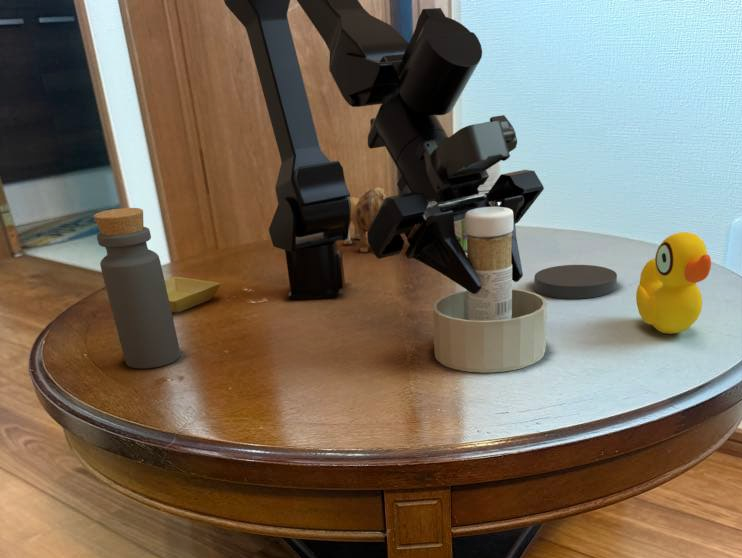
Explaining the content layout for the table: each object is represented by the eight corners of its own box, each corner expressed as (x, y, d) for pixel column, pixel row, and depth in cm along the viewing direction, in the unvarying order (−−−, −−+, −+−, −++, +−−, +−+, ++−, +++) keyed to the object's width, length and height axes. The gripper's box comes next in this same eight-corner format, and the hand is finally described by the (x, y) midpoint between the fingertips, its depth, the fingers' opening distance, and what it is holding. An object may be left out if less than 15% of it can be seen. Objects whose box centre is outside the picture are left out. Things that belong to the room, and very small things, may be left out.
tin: (435, 375, 78) (433, 324, 75) (434, 337, 87) (432, 291, 84) (551, 369, 77) (553, 318, 74) (538, 332, 86) (539, 285, 84)
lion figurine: (403, 250, 122) (399, 186, 117) (373, 256, 119) (368, 192, 115) (354, 235, 132) (349, 177, 128) (326, 241, 130) (319, 181, 125)
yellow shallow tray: (225, 298, 105) (222, 282, 104) (176, 317, 99) (173, 300, 98) (178, 291, 109) (175, 276, 108) (129, 309, 103) (125, 293, 102)
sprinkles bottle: (496, 339, 84) (497, 203, 77) (520, 351, 81) (523, 210, 74) (459, 347, 83) (455, 209, 76) (481, 360, 79) (480, 217, 72)
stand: (539, 300, 96) (539, 288, 95) (530, 278, 104) (530, 266, 103) (623, 296, 95) (624, 283, 95) (607, 274, 104) (608, 262, 103)
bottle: (152, 372, 83) (115, 219, 75) (114, 364, 86) (74, 216, 78) (192, 354, 87) (161, 207, 79) (154, 347, 90) (121, 205, 82)
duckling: (721, 345, 80) (737, 240, 74) (670, 351, 79) (683, 246, 74) (667, 312, 89) (679, 218, 84) (622, 318, 88) (630, 223, 83)
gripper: (374, 96, 67) (463, 251, 66) (532, 77, 76) (614, 213, 75) (333, 188, 77) (410, 325, 75) (478, 161, 86) (549, 283, 84)
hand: (499, 285), depth 77 cm, fingers open, 5 cm apart
